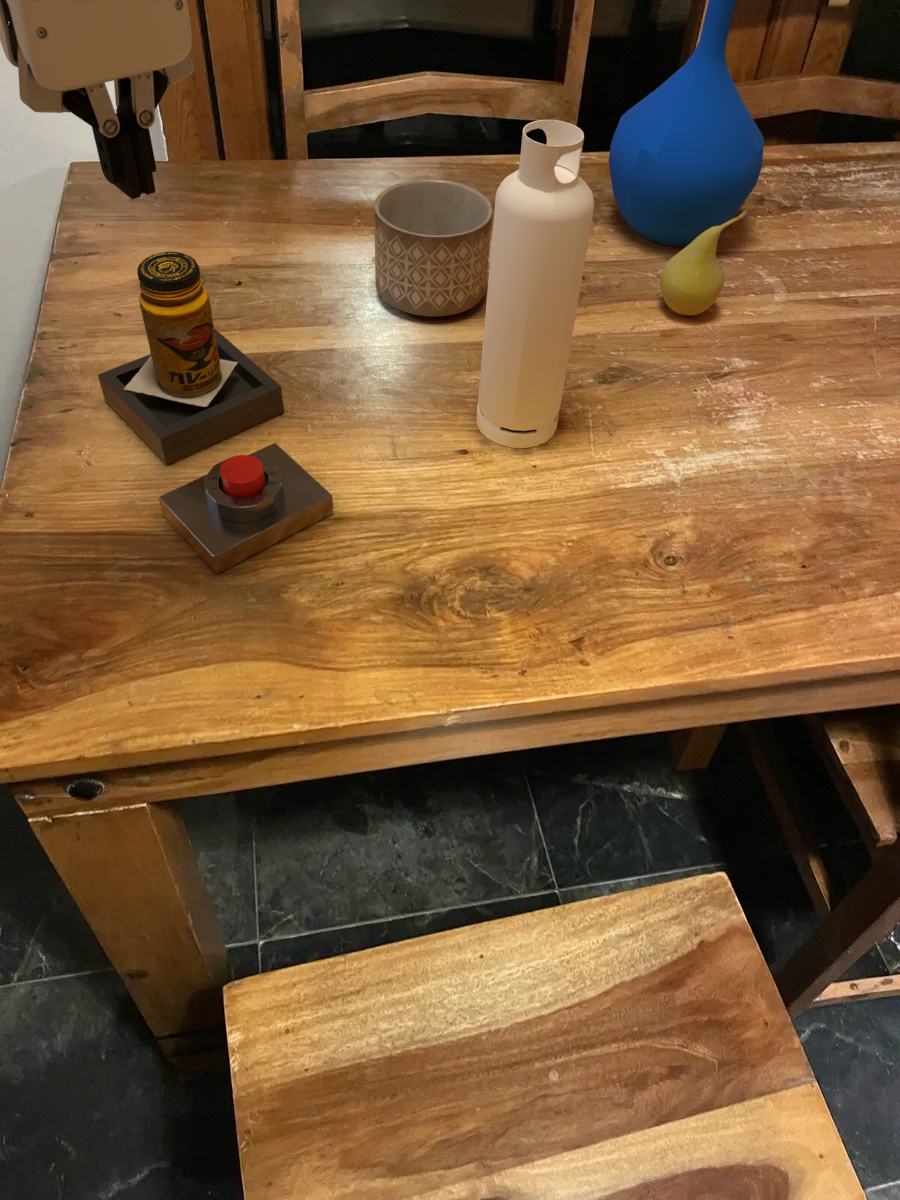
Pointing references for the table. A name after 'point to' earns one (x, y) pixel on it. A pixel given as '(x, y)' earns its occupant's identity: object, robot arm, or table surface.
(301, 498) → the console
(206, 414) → the tray
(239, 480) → the button
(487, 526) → the table surface
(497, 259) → the bottle
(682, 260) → the fruit
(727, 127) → the vase
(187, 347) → the condiment
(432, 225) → the planter
